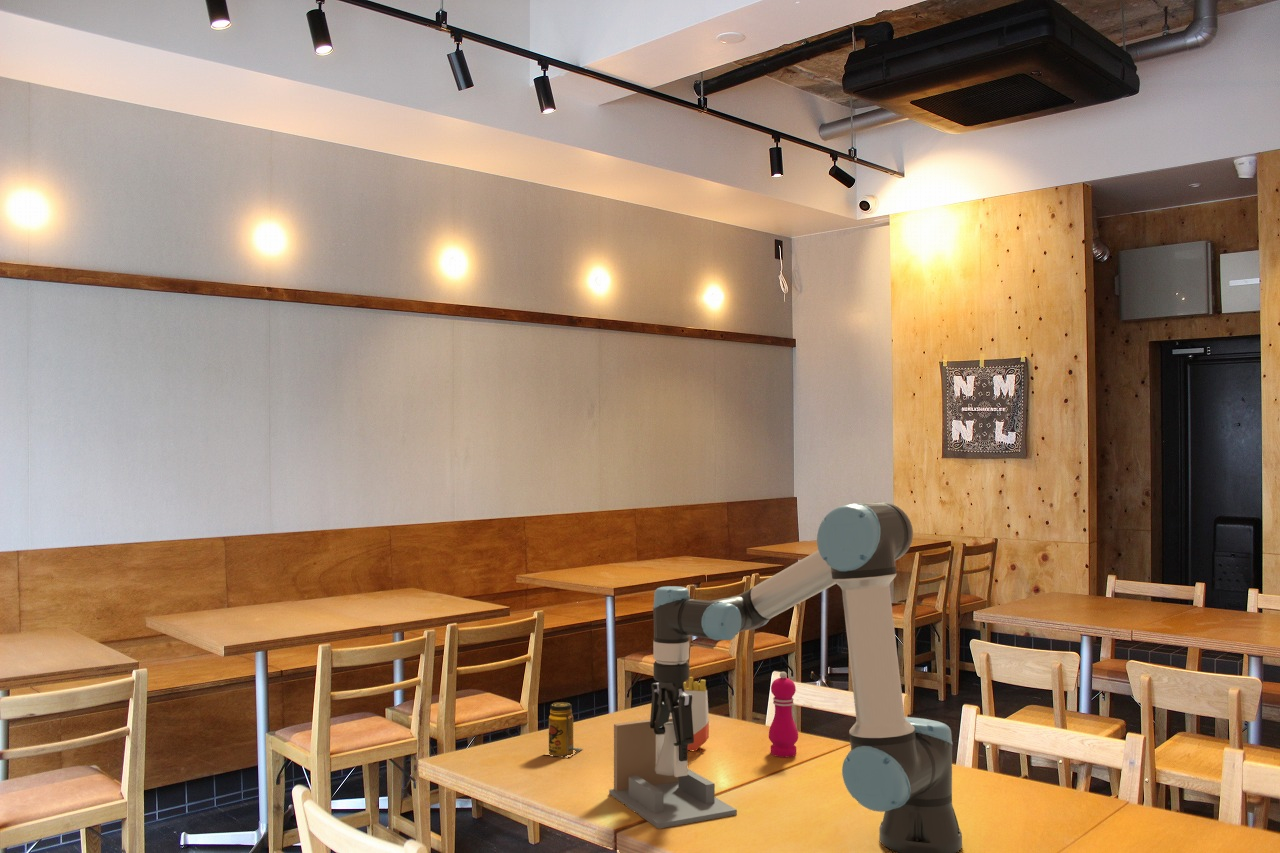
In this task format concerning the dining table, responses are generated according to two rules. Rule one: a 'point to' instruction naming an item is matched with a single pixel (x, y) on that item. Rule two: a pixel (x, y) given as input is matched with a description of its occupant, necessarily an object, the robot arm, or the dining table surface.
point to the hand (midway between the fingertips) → (671, 770)
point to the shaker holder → (659, 782)
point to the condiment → (561, 730)
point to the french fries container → (698, 712)
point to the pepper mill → (783, 718)
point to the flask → (667, 752)
